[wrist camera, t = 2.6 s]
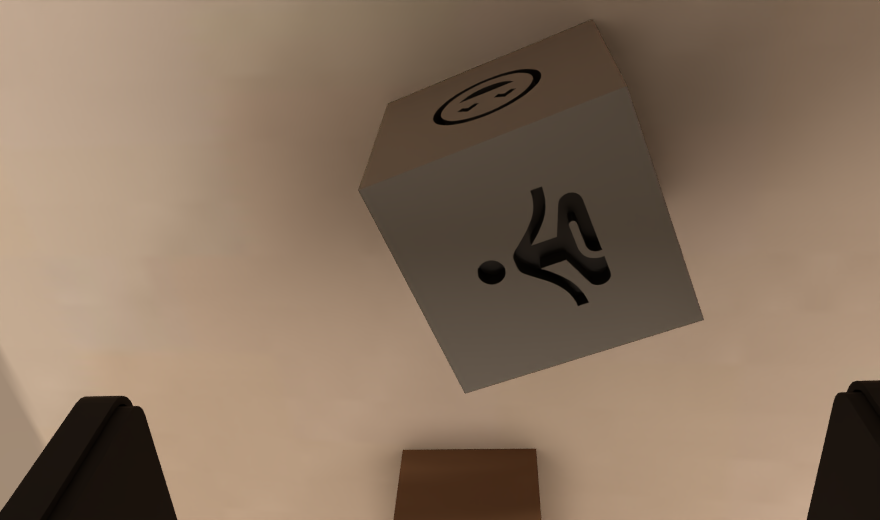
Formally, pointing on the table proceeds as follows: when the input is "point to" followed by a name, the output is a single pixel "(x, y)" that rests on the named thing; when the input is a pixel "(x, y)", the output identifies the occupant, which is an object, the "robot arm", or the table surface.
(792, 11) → the table surface
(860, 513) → the robot arm
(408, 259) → the grey emblem cube
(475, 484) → the walnut block
